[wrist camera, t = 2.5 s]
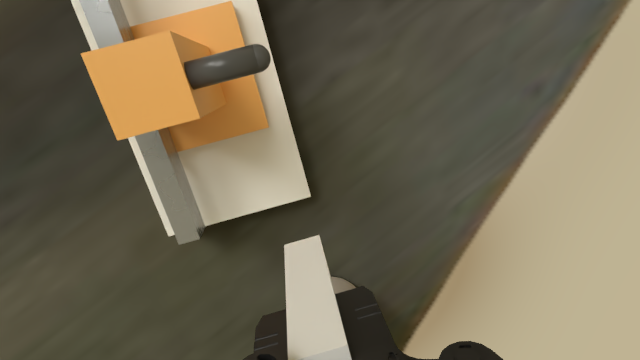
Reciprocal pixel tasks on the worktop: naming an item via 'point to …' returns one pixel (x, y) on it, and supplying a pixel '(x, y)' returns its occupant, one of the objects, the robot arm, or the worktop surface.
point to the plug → (182, 78)
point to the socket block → (237, 152)
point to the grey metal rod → (156, 145)
